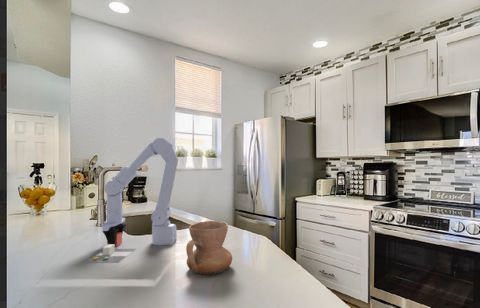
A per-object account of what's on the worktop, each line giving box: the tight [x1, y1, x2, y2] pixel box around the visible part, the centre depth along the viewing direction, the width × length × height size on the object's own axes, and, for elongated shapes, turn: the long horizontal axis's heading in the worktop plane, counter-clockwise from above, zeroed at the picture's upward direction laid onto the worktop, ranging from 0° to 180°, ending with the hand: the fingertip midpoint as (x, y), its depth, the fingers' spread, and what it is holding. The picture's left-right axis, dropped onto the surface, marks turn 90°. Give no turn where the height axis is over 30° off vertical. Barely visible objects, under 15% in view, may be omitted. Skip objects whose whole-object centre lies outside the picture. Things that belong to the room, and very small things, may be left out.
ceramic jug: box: [185, 220, 233, 275], centre depth 86 cm, size 18×14×14 cm
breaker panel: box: [82, 248, 137, 264], centre depth 96 cm, size 12×14×2 cm
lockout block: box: [106, 232, 123, 247], centre depth 108 cm, size 4×4×6 cm
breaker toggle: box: [102, 244, 116, 255], centre depth 97 cm, size 2×4×3 cm, turn 178°
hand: (114, 244), depth 108 cm, fingers closed on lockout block, 4 cm apart
